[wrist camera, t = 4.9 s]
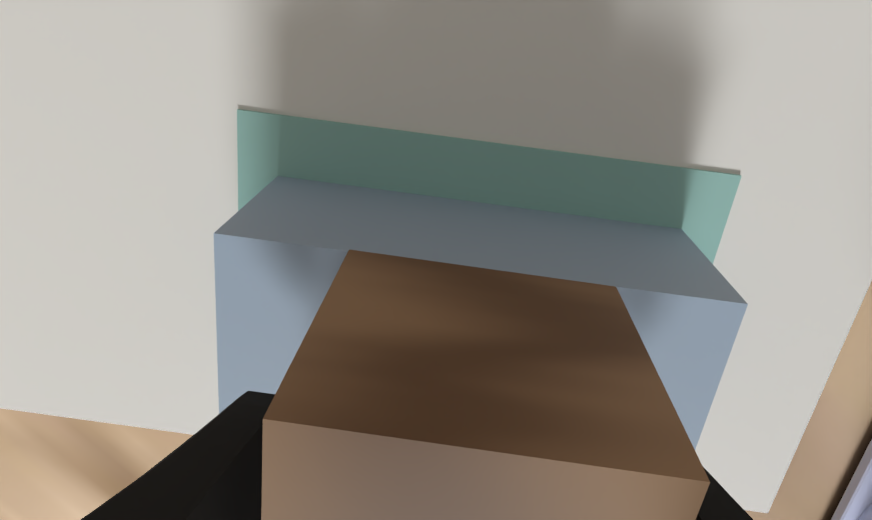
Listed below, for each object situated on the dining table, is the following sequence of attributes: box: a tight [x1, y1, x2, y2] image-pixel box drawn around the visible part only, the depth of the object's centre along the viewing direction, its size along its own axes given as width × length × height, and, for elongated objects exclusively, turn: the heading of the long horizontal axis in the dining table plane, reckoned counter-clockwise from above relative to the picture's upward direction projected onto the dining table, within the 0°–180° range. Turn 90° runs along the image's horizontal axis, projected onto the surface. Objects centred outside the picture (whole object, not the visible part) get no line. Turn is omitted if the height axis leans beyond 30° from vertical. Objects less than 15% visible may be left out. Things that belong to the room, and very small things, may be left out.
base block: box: [214, 176, 748, 449], centre depth 14 cm, size 10×5×4 cm, turn 83°
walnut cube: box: [261, 249, 710, 520], centre depth 10 cm, size 5×5×5 cm
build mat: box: [0, 0, 872, 513], centre depth 15 cm, size 24×20×1 cm
